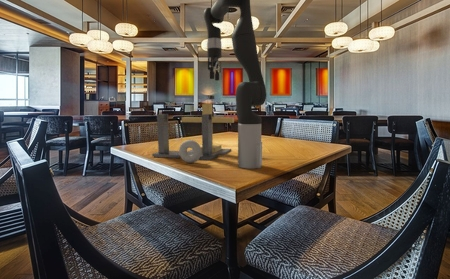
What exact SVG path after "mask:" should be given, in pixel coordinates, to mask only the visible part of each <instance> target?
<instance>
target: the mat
mask: <svg viewBox="0 0 450 279" xmlns="http://www.w3.org/2000/svg"><path fill="white" fill-rule="evenodd" d="M231 151H232V149H231V148H221V150H219V151H217V152H212V153H218V156H224V155H226V154H229V152H231ZM187 152H194V151H193V149H192V148H191V149H190V150H187Z"/></svg>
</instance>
